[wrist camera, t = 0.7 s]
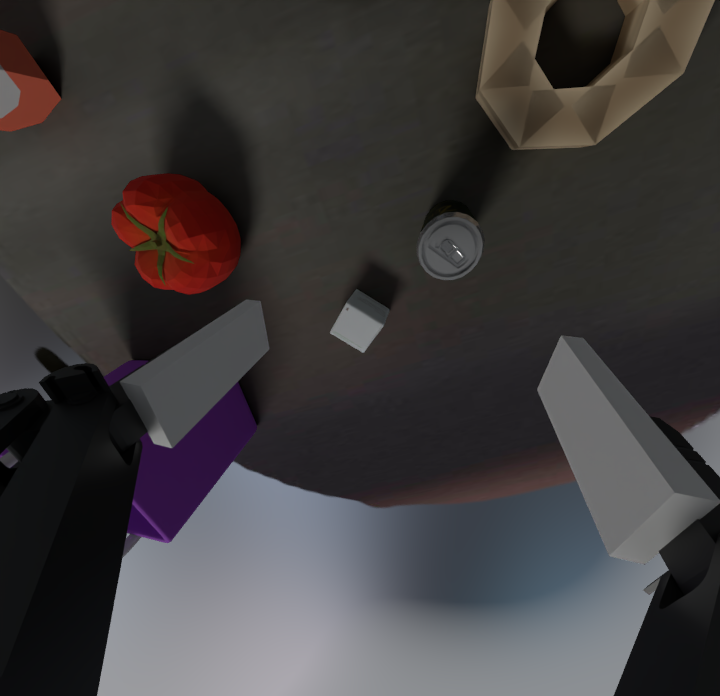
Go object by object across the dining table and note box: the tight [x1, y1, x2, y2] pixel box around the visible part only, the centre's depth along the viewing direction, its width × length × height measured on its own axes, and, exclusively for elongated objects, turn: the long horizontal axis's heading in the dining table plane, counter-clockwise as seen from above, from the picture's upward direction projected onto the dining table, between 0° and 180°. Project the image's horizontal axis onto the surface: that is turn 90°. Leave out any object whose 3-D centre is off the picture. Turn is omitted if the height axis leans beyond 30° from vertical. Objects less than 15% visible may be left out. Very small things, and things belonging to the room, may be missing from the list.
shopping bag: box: [0, 360, 257, 558], centre depth 48 cm, size 28×22×30 cm
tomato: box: [112, 173, 241, 294], centre depth 36 cm, size 14×13×10 cm
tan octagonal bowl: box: [476, 0, 715, 150], centre depth 22 cm, size 14×14×4 cm
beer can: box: [417, 200, 484, 280], centre depth 28 cm, size 5×5×12 cm
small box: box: [330, 289, 390, 353], centre depth 39 cm, size 6×6×5 cm
